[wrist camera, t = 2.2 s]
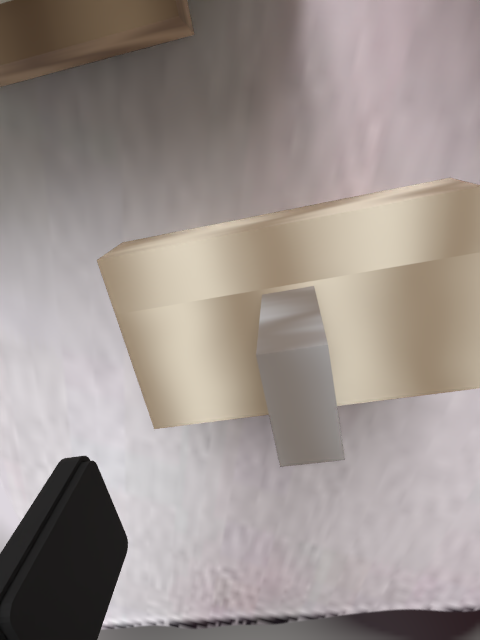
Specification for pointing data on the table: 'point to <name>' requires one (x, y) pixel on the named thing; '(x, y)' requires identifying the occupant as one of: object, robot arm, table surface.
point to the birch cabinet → (305, 312)
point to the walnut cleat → (82, 32)
